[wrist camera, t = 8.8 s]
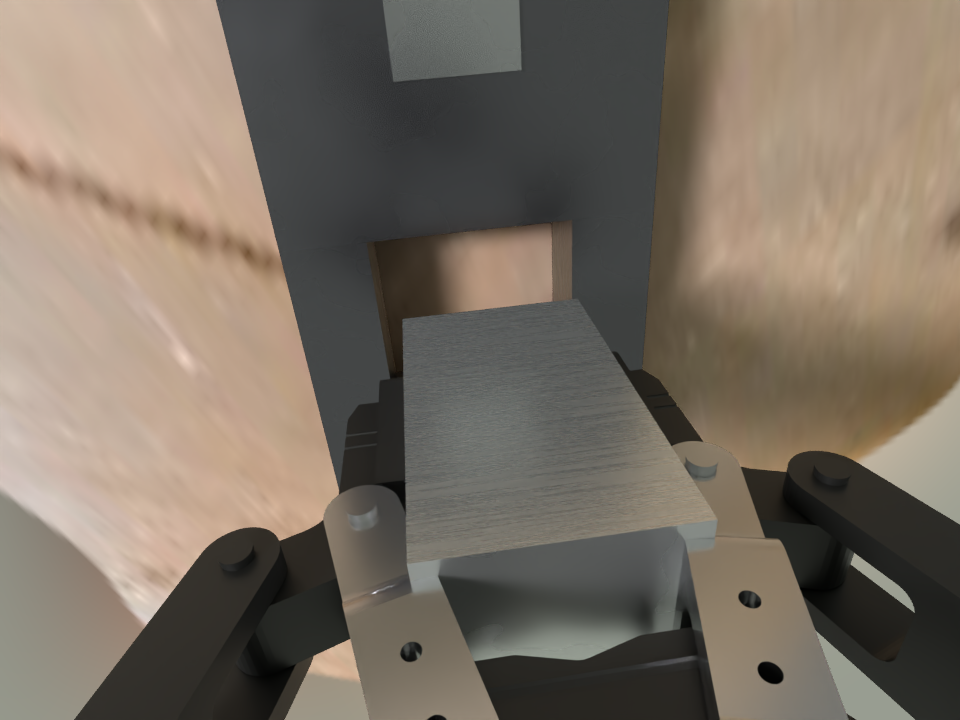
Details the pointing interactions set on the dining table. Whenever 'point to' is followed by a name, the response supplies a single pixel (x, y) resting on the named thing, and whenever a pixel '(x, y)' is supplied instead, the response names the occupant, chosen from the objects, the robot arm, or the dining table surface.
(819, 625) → the robot arm
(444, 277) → the dining table surface
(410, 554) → the grey rectangular block
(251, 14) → the dark grey flat board
